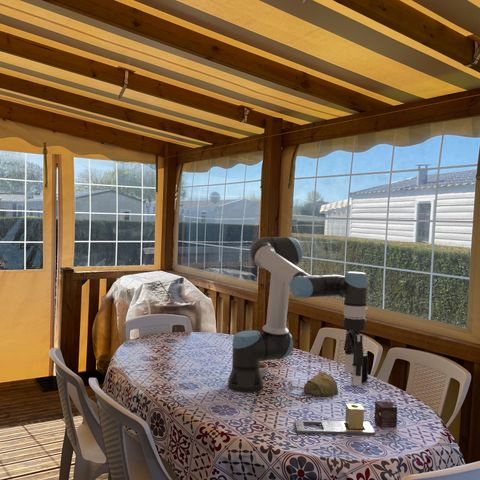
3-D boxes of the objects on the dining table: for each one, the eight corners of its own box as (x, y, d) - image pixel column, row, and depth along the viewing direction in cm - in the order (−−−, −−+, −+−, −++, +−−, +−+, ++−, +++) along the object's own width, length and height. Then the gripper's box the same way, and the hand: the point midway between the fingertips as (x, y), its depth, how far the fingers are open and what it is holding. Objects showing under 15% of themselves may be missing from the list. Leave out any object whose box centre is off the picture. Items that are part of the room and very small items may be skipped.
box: (373, 421, 179) (374, 401, 179) (390, 421, 179) (390, 400, 179) (380, 428, 173) (380, 407, 173) (397, 428, 173) (397, 407, 173)
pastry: (339, 389, 214) (339, 371, 213) (336, 399, 202) (337, 379, 202) (306, 386, 218) (307, 367, 217) (301, 395, 206) (302, 375, 205)
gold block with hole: (348, 432, 169) (349, 408, 169) (345, 426, 174) (346, 403, 174) (363, 432, 169) (363, 408, 169) (359, 426, 174) (360, 403, 174)
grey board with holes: (297, 433, 167) (297, 430, 167) (294, 422, 176) (294, 419, 176) (375, 435, 167) (375, 432, 167) (368, 424, 176) (368, 421, 176)
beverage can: (367, 383, 223) (368, 356, 223) (352, 381, 225) (353, 355, 224) (367, 378, 230) (367, 352, 229) (352, 377, 231) (353, 351, 231)
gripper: (375, 324, 159) (372, 390, 160) (357, 311, 184) (355, 368, 185) (351, 324, 159) (349, 390, 160) (337, 310, 184) (335, 367, 185)
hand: (352, 378), depth 173 cm, fingers open, 13 cm apart
